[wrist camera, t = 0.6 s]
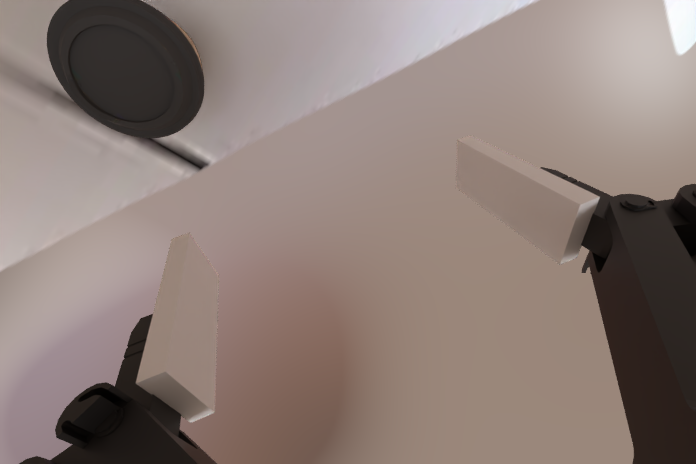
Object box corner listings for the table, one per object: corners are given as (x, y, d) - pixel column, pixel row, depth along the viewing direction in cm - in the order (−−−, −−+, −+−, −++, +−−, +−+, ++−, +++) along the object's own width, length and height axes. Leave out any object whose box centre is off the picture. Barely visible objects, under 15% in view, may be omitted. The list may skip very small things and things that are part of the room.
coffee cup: (163, -19, 28) (116, -47, 17) (230, 74, 34) (229, 102, 22) (86, 36, 29) (-13, 45, 17) (164, 119, 34) (130, 169, 23)
